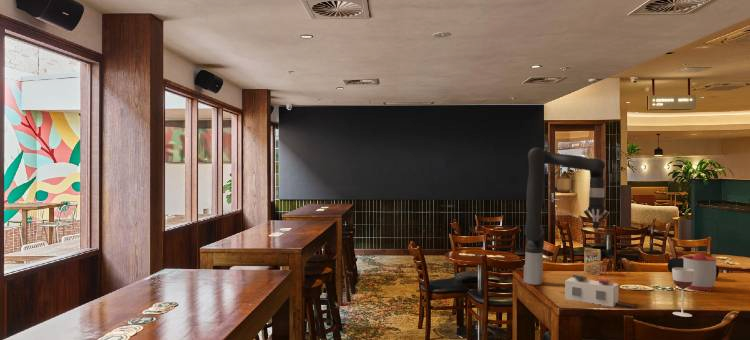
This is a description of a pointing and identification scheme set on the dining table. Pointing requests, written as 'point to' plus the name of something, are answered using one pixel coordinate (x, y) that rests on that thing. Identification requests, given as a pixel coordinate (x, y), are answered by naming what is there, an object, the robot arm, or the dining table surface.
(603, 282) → the red rocker
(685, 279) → the wineglass
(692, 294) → the dining table surface
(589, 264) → the candy box
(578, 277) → the black rocker
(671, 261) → the portable speaker
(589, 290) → the switch box
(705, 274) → the citrus juicer
